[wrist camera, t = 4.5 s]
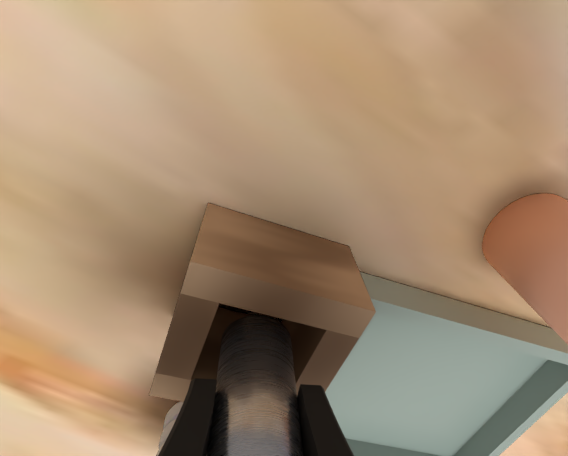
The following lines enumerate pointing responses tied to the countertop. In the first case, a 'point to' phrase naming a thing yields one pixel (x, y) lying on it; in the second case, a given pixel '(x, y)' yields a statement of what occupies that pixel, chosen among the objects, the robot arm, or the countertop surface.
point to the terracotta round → (534, 254)
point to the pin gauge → (255, 392)
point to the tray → (444, 376)
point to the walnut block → (263, 299)
